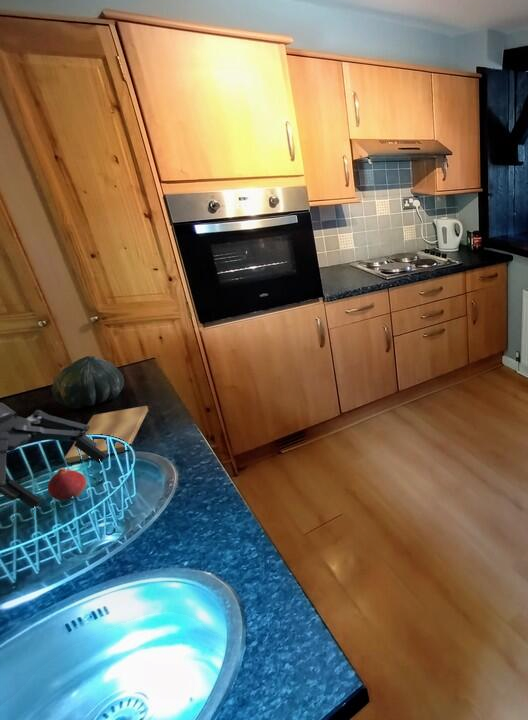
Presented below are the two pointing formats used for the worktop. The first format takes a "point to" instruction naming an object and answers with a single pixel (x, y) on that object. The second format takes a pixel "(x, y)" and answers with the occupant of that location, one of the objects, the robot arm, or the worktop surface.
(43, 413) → the robot arm
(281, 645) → the worktop surface
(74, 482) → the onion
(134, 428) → the cutting board
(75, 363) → the squash
